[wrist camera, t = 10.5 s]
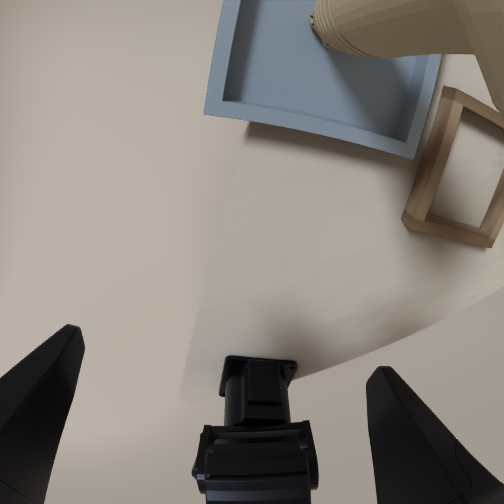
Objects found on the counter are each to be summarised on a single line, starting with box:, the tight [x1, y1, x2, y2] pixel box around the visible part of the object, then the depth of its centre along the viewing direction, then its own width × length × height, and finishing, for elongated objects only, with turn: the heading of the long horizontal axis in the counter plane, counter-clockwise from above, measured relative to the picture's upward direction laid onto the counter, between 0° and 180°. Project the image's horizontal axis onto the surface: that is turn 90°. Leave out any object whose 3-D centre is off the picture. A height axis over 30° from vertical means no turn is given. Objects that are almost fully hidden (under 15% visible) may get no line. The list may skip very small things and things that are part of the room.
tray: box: [204, 0, 442, 160], centre depth 13 cm, size 13×12×2 cm
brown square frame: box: [401, 86, 504, 248], centre depth 18 cm, size 10×9×2 cm
